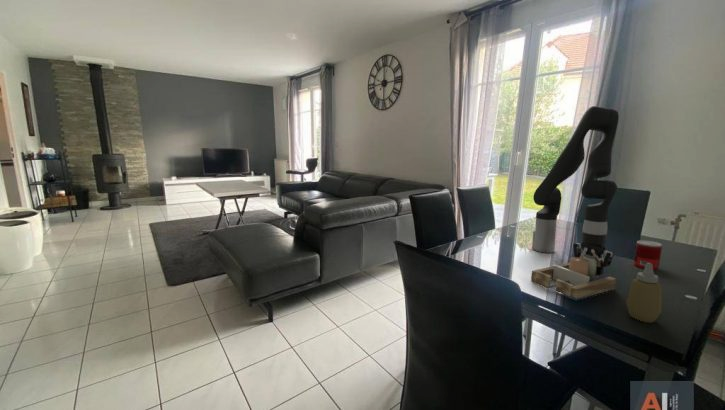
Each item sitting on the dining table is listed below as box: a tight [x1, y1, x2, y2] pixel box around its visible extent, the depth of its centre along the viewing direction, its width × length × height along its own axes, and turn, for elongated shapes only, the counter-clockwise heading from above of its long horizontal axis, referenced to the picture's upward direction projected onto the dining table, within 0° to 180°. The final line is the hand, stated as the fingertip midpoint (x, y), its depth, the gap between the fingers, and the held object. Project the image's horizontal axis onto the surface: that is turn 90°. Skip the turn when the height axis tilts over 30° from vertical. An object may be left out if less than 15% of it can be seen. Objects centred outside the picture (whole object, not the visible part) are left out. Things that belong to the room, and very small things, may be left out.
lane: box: [530, 261, 617, 299], centre depth 116 cm, size 18×21×5 cm
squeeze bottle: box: [625, 263, 663, 323], centre depth 92 cm, size 8×8×18 cm
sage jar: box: [583, 254, 600, 280], centre depth 119 cm, size 6×6×9 cm
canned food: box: [633, 239, 663, 271], centre depth 130 cm, size 8×8×11 cm
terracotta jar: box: [569, 256, 589, 276], centre depth 117 cm, size 6×6×10 cm
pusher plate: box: [544, 264, 591, 290], centre depth 114 cm, size 13×13×6 cm
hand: (590, 272), depth 119 cm, fingers closed on sage jar, 5 cm apart
